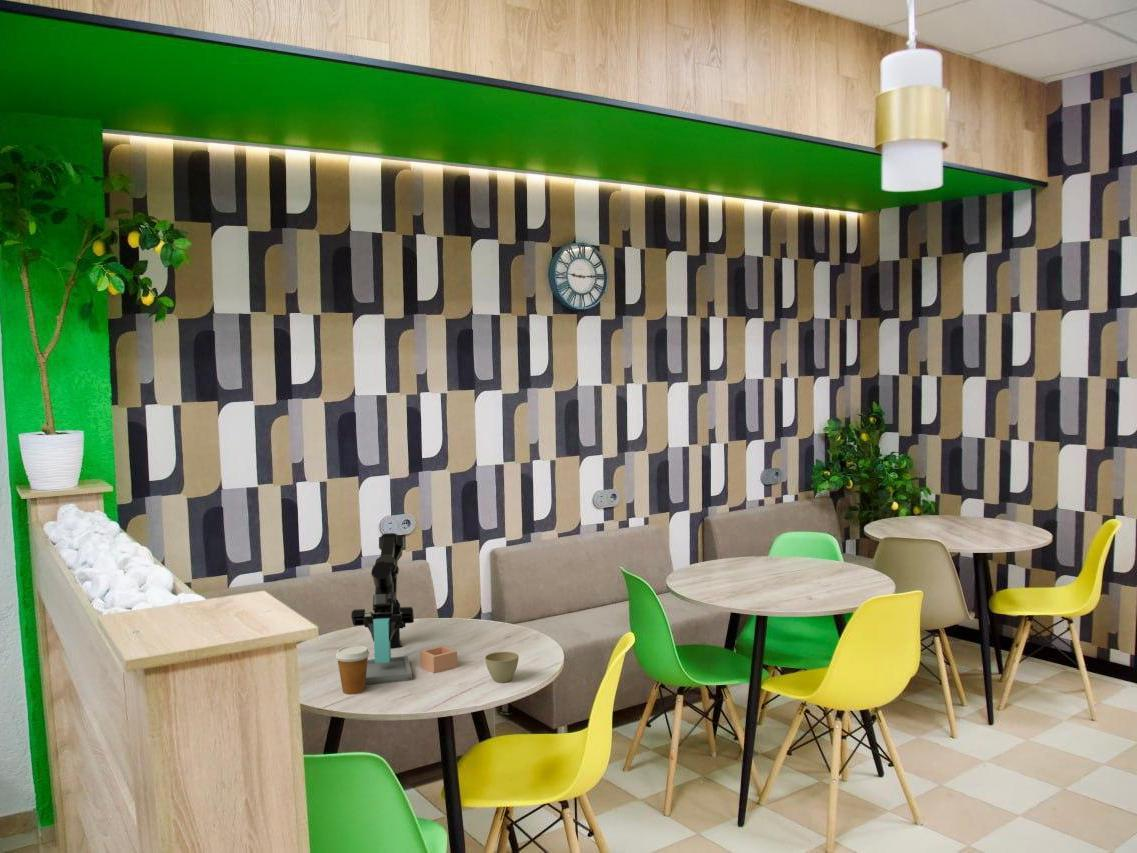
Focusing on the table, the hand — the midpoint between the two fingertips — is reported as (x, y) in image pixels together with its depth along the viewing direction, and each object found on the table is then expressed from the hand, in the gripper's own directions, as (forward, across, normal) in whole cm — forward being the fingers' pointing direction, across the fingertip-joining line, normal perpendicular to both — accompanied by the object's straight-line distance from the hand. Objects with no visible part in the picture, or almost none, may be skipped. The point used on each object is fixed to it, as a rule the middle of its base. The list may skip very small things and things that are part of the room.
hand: (381, 640), depth 279 cm
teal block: (+4, 0, +6) cm, 7 cm away
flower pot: (+16, +36, -1) cm, 40 cm away
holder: (+5, +17, +10) cm, 20 cm away
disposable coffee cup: (+17, -7, -2) cm, 19 cm away
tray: (+7, 0, +8) cm, 10 cm away
